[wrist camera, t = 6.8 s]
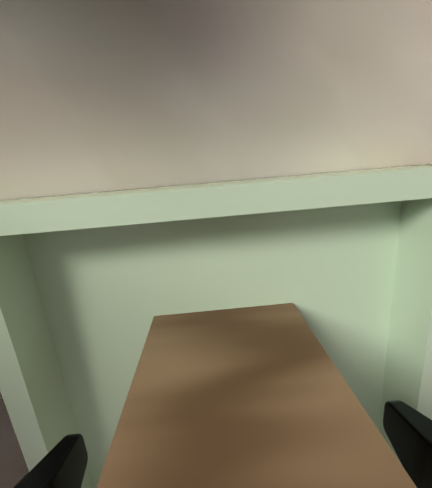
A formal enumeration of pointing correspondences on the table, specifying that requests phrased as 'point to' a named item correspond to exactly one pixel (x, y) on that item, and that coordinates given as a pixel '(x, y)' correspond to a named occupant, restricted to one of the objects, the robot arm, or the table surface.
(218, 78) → the table surface
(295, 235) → the tray
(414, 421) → the robot arm
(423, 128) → the table surface
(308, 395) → the walnut block
